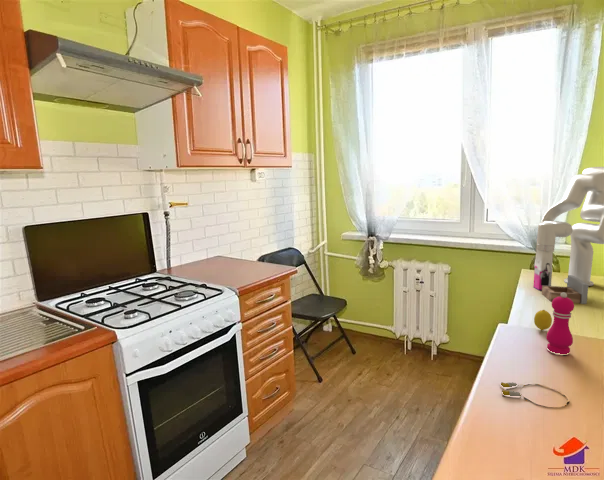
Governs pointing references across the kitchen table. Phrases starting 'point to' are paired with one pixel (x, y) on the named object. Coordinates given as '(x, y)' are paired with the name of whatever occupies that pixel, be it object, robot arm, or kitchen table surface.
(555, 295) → the socket block
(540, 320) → the lemon
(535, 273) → the supplement box
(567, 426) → the kitchen table surface
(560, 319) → the pepper mill
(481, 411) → the kitchen table surface
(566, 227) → the robot arm
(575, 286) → the backstop wall
